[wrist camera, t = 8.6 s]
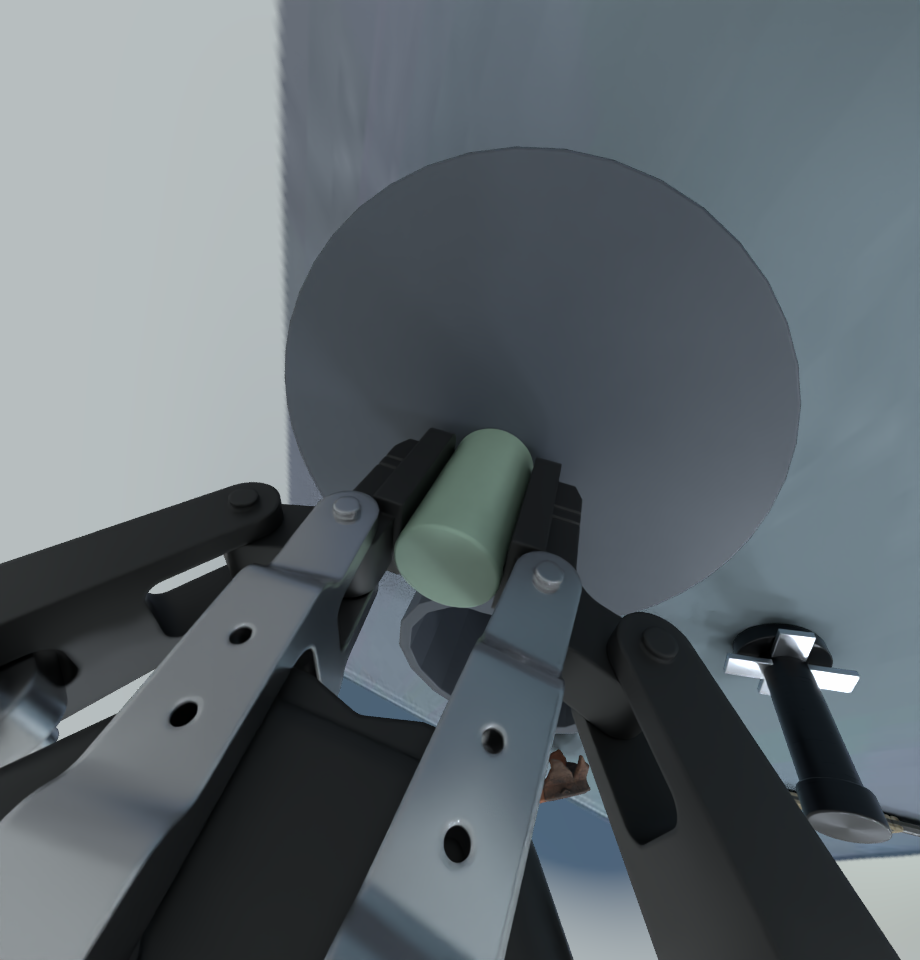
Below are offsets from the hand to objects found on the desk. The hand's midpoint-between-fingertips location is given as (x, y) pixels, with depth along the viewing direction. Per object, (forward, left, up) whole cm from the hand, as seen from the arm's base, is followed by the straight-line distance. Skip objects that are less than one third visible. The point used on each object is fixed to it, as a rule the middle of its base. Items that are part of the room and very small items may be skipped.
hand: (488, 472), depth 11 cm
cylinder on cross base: (+16, +21, -12) cm, 29 cm away
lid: (0, 0, -1) cm, 1 cm away
